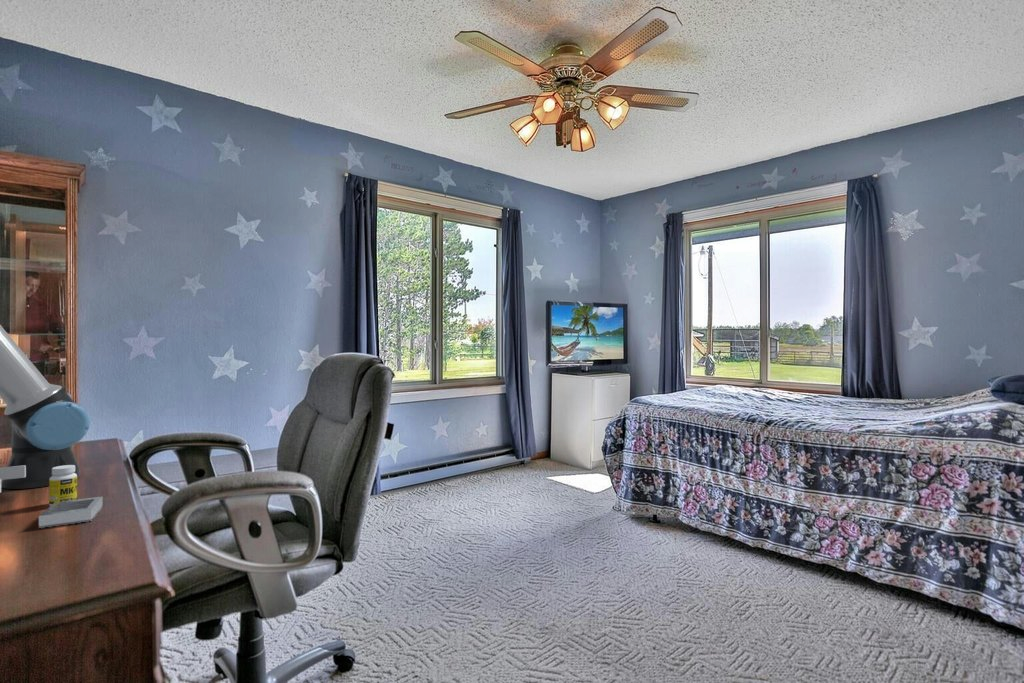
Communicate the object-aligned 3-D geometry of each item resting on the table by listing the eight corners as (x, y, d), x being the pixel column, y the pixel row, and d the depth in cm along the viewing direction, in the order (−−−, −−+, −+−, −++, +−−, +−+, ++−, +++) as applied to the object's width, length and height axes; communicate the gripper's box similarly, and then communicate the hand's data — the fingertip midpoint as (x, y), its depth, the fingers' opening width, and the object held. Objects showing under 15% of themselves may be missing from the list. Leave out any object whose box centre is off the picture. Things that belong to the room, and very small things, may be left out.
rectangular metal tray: (55, 513, 107) (55, 502, 107) (102, 507, 111) (102, 496, 111) (38, 528, 98) (38, 516, 98) (90, 521, 102) (90, 509, 102)
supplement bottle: (60, 507, 111) (60, 469, 111) (43, 506, 112) (43, 468, 112) (82, 501, 116) (82, 464, 116) (66, 499, 117) (66, 463, 117)
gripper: (-95, 494, 110) (34, 481, 121) (-178, 531, 88) (-12, 512, 99) (-95, 460, 110) (34, 450, 121) (-178, 489, 88) (-12, 474, 99)
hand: (13, 478), depth 110 cm, fingers open, 13 cm apart
